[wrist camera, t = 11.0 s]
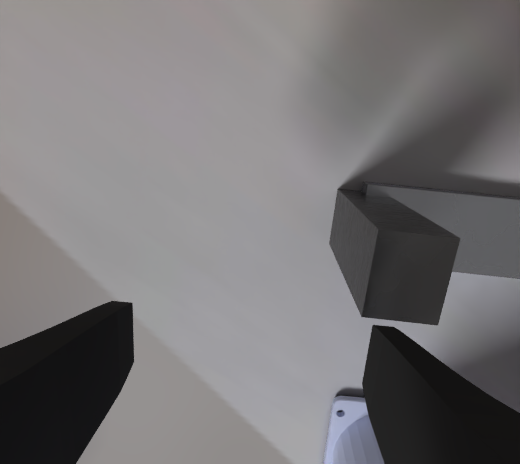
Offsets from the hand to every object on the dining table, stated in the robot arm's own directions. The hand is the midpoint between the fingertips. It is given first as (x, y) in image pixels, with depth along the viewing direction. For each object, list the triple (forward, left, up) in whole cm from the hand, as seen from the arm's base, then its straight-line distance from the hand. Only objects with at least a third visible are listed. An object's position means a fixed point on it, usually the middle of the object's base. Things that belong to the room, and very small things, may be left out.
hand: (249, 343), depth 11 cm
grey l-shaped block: (+2, -13, -9) cm, 16 cm away
